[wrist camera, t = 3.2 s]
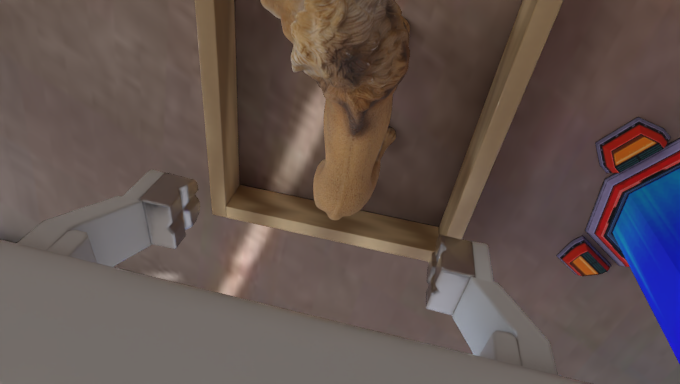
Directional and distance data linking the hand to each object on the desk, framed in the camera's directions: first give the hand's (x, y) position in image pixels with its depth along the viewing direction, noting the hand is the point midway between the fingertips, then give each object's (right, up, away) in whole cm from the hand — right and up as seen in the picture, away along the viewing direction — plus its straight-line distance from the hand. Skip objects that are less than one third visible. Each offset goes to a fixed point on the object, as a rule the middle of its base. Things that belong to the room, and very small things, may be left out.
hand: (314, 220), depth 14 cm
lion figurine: (+2, +7, +9) cm, 12 cm away
